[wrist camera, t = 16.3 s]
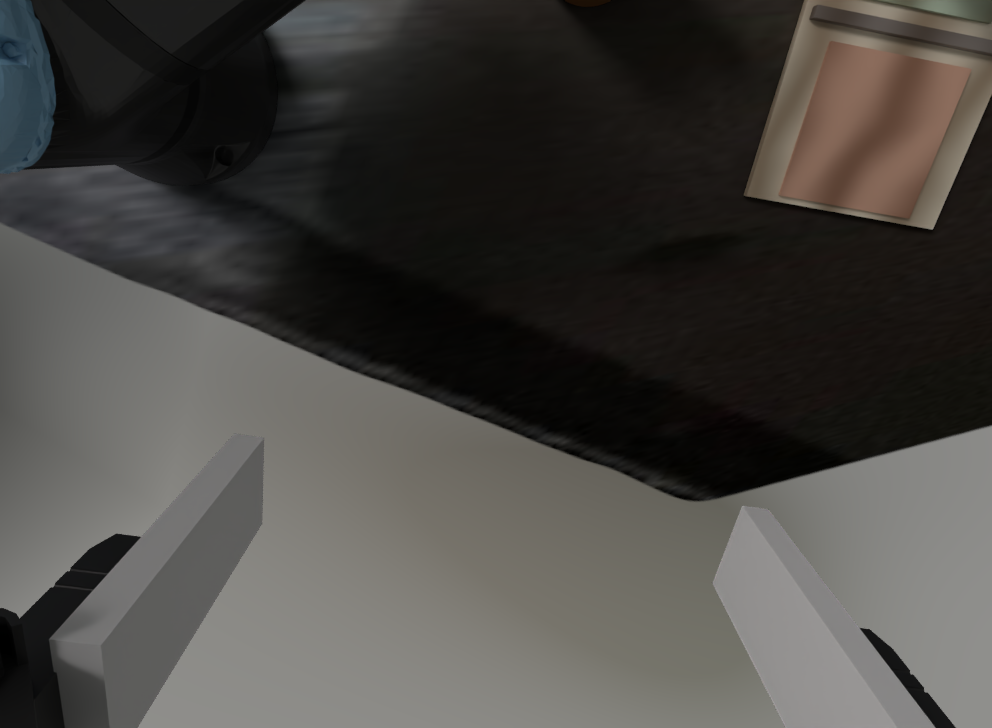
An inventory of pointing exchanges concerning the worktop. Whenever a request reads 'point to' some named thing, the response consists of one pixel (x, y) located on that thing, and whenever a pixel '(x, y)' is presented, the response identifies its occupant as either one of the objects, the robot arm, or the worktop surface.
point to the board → (876, 107)
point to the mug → (587, 2)
